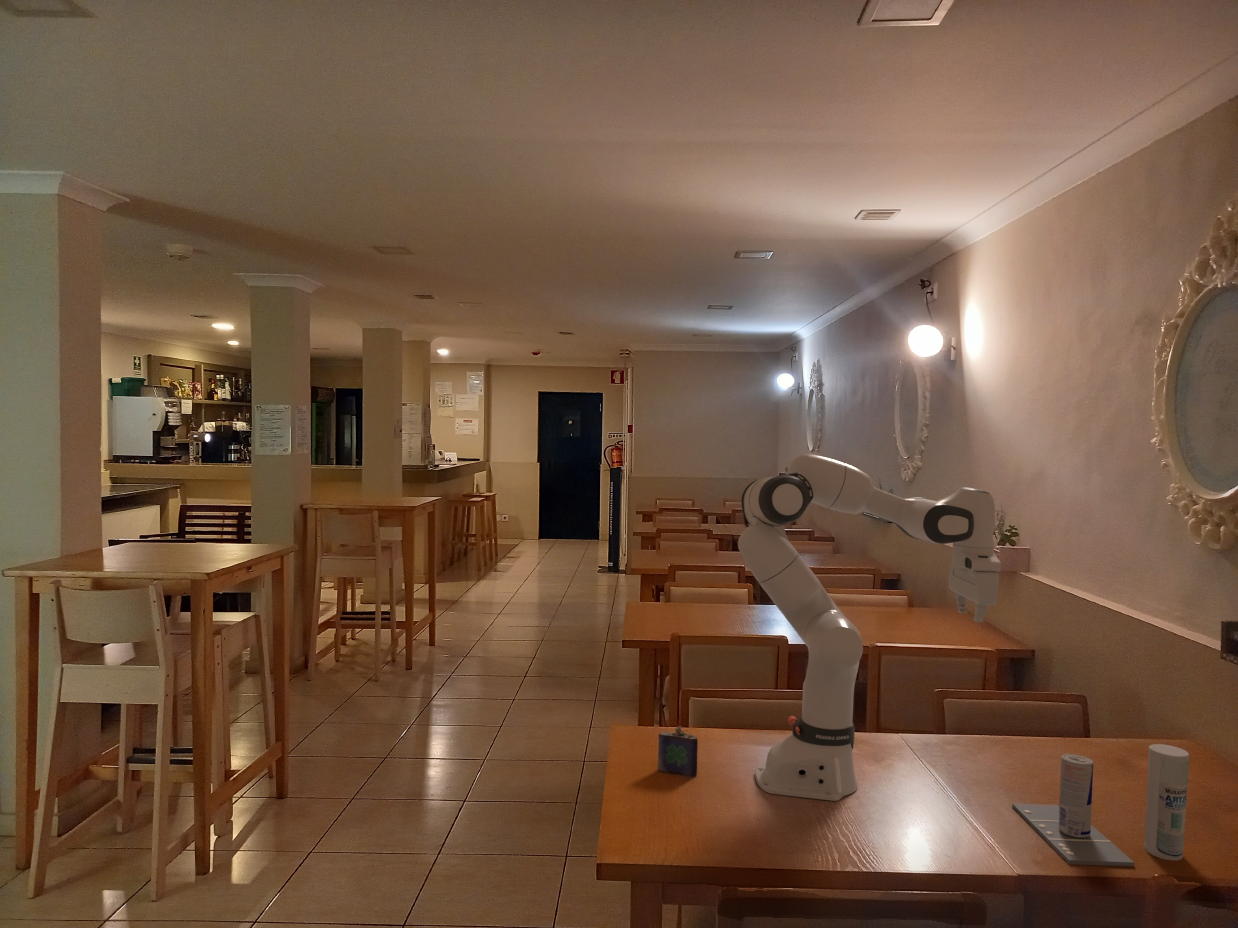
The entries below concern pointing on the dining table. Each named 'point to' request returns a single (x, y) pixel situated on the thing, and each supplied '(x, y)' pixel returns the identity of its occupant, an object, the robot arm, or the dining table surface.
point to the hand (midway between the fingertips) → (970, 617)
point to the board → (1071, 838)
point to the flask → (678, 753)
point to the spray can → (1166, 801)
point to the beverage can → (1075, 795)
